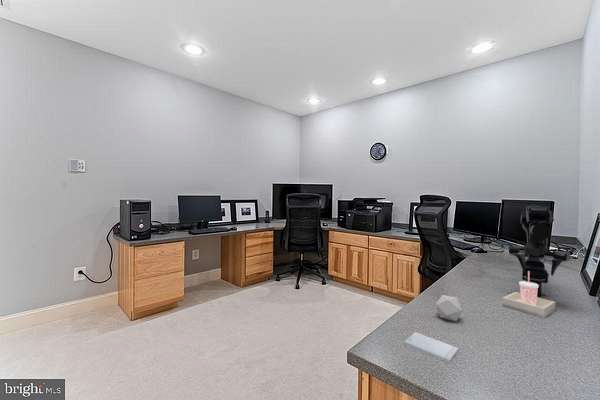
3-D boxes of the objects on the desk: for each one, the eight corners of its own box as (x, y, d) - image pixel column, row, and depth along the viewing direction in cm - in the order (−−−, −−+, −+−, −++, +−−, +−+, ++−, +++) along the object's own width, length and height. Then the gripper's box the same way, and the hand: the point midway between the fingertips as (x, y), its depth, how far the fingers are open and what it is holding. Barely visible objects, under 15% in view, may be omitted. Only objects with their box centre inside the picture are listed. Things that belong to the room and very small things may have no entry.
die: (464, 319, 97) (450, 293, 102) (470, 316, 90) (455, 289, 95) (443, 326, 98) (429, 300, 103) (447, 323, 91) (432, 296, 96)
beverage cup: (514, 302, 109) (515, 269, 109) (529, 302, 109) (530, 269, 109) (526, 308, 103) (527, 273, 103) (542, 308, 103) (543, 273, 103)
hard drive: (404, 341, 79) (449, 359, 70) (415, 331, 84) (459, 347, 75) (404, 346, 79) (449, 365, 70) (415, 336, 84) (459, 352, 75)
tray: (515, 299, 115) (515, 291, 115) (555, 310, 104) (555, 301, 104) (502, 306, 108) (502, 297, 108) (543, 318, 97) (544, 308, 97)
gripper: (503, 234, 115) (503, 270, 115) (562, 240, 99) (561, 281, 99) (514, 233, 121) (513, 266, 121) (571, 238, 105) (570, 277, 105)
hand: (537, 272), depth 111 cm, fingers open, 9 cm apart
